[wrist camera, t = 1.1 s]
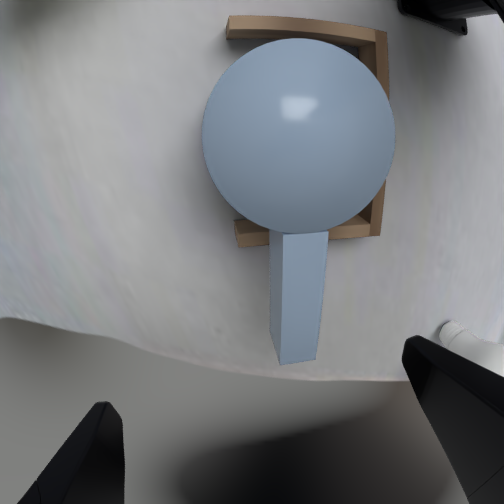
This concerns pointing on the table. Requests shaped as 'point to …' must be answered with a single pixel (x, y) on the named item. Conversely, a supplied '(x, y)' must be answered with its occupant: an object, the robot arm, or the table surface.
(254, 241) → the holder
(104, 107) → the table surface
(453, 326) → the lightbulb
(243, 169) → the blue scoop
